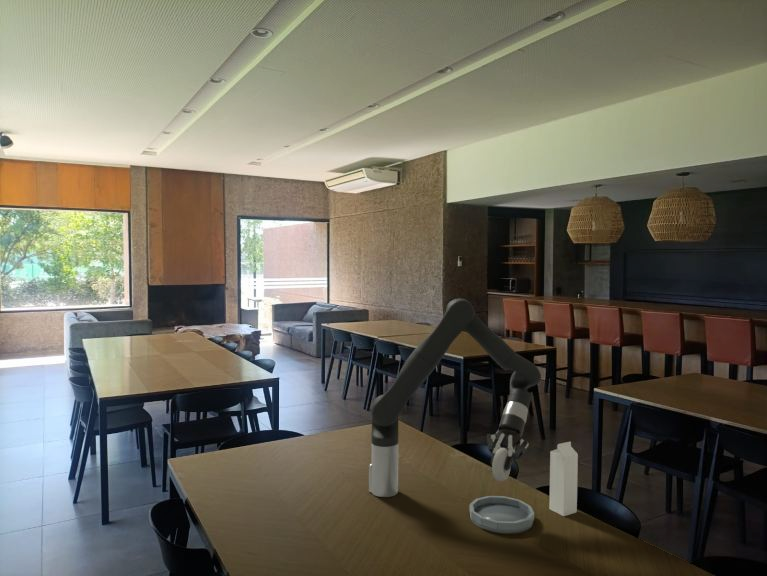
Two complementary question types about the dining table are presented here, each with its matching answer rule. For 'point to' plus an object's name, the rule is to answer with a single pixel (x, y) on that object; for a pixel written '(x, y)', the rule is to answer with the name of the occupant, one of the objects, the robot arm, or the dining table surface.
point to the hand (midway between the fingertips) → (499, 467)
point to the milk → (563, 479)
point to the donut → (500, 465)
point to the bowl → (501, 514)
